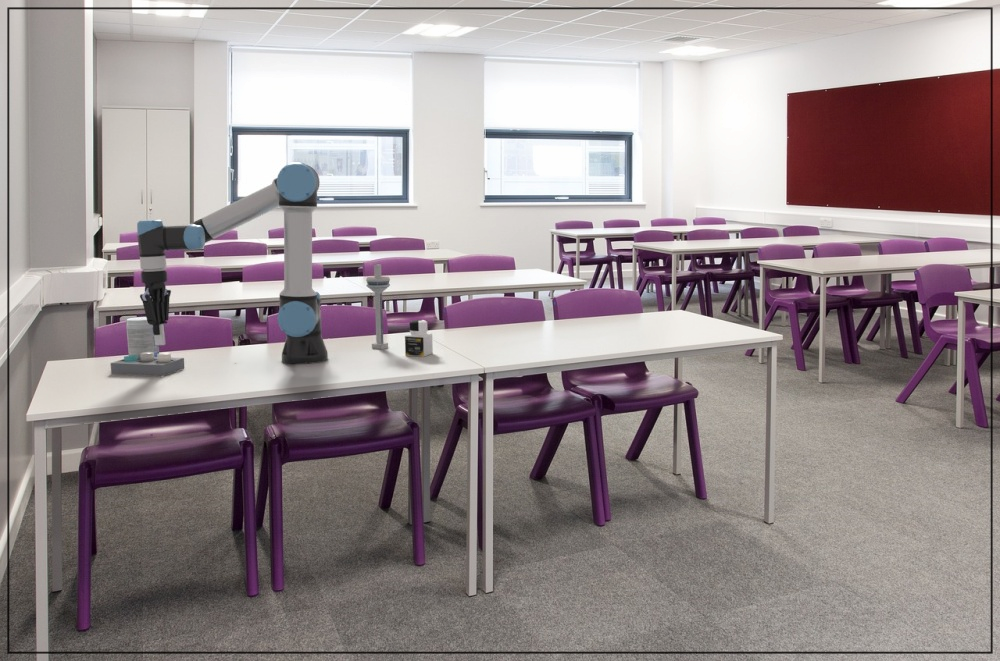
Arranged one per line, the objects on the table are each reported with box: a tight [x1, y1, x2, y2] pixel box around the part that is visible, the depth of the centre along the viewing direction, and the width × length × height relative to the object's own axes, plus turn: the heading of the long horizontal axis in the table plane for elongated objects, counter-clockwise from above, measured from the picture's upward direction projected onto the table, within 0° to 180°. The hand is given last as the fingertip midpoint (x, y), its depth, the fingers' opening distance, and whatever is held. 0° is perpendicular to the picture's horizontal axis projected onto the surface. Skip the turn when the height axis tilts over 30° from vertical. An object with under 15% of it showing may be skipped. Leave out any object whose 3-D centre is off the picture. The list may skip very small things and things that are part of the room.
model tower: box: [365, 264, 391, 350], centre depth 318 cm, size 8×8×30 cm
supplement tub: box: [125, 316, 160, 357], centre depth 297 cm, size 10×10×15 cm
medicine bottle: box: [404, 319, 434, 358], centre depth 306 cm, size 7×7×12 cm
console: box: [110, 356, 185, 377], centre depth 282 cm, size 18×12×4 cm, turn 77°
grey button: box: [140, 352, 154, 362], centre depth 281 cm, size 4×4×3 cm
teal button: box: [123, 355, 138, 362], centre depth 283 cm, size 4×4×3 cm
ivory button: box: [157, 352, 172, 363], centre depth 280 cm, size 4×4×3 cm
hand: (160, 344), depth 280 cm, fingers closed
